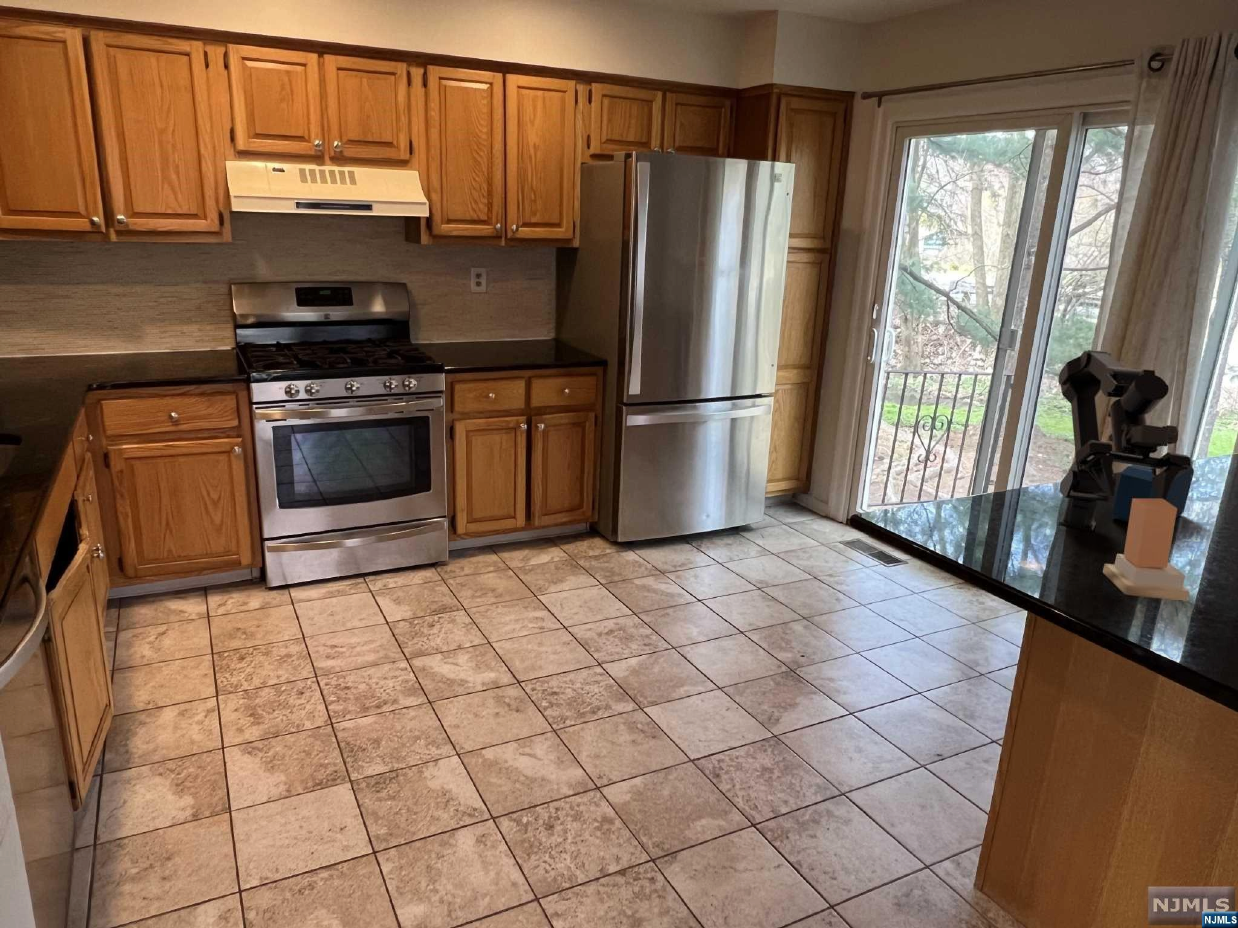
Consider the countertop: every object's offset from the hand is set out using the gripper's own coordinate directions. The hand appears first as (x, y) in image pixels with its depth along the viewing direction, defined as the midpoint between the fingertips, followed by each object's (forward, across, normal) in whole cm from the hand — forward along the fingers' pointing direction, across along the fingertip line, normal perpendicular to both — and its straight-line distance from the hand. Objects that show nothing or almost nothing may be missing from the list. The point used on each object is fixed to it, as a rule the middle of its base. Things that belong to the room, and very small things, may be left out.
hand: (1136, 501), depth 155 cm
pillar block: (+12, 0, 0) cm, 12 cm away
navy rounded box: (-14, +23, +34) cm, 43 cm away
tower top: (+14, +1, +2) cm, 14 cm away
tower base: (+16, +1, +3) cm, 16 cm away
